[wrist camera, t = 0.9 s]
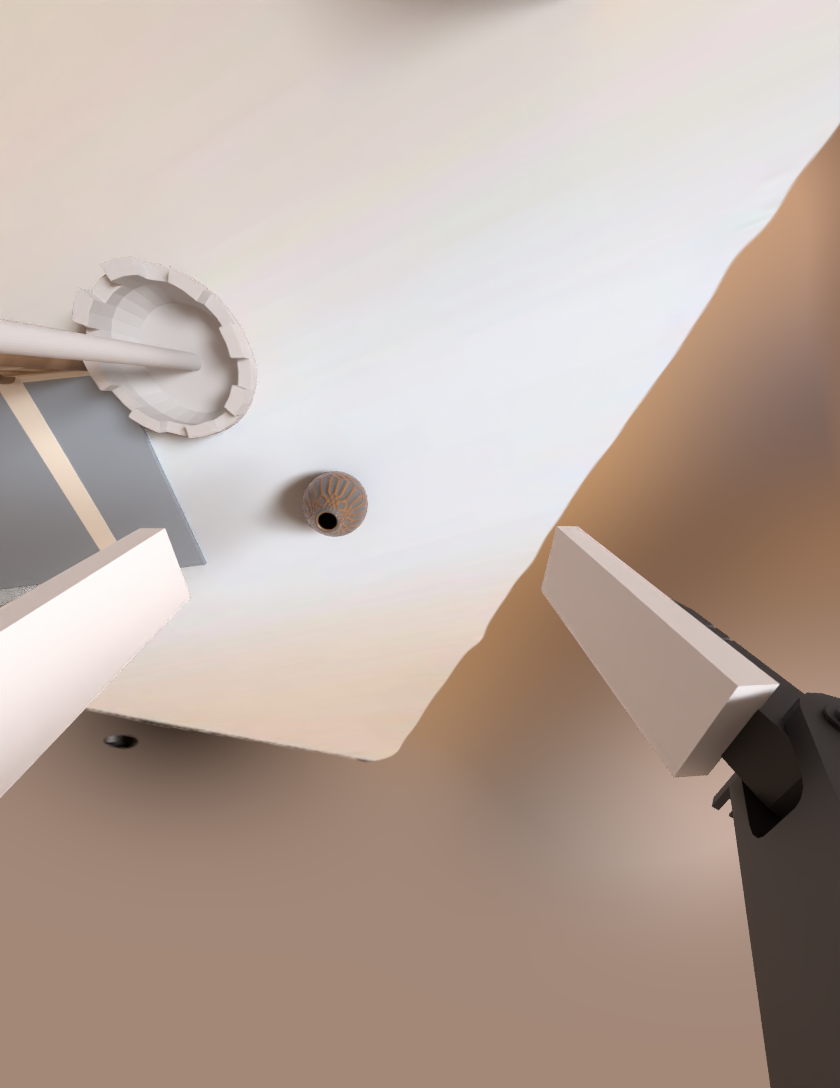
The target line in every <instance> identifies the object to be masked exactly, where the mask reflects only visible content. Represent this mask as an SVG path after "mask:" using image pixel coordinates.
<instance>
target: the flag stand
mask: <svg viewBox="0 0 840 1088" xmlns="http://www.w3.org/2000/svg"><path fill="white" fill-rule="evenodd" d="M99 265H100V266H101V267H102V269H103V270H104V272H105V273H106V274H105V275H104V276H103V277H102V278H100V279H99V281H98V282H97V284H96V285H95V287H94V288H93V290H92V291H88V290H85V289H81V288H78V291H77V294H76V297H75V300H74V303H73V319H72V321H74V322H77V323H79V324H82V325H84V326H85V327H86V334H83V333H77V332H71V331H66V330H60V329H54V328H49V327H43V326H37V325H32V324H26V323H20V322H14V321H9V320H3V319H0V353H3V354H14V355H26V356H37V357H48V358H59V359H70V360H82V361H83V362H84V364H85V366H86V368H87V370H88V372H89V374H90V376H91V377H92V379H93V380H94V381H95V383H96V384H97V386H98V387H99V389H100V390H101V391H112V392H113V393H114V394H115V395H116V396H117V397H118V398H119V399H120V400H121V402H122V403H123V404H124V405H125V406H127V407H128V408H129V409H130V410H131V411H132V412H131V413H130V415H129V418H131V419H133V420H134V421H136V422H137V423H139V424H141V425H142V426H144V427H146V428H149V429H151V430H153V431H155V432H158V433H162V432H170V433H174V434H178V435H182V436H189V438H197V437H204V436H208V435H212V434H216V433H219V432H221V431H224V430H227V429H229V428H230V427H232V426H233V425H235V424H236V423H238V422H239V420H240V419H241V418H242V417H243V416H244V415H245V414H246V412H247V410H248V409H249V407H250V405H251V403H252V400H253V396H254V393H255V389H256V383H257V369H256V362H255V358H254V355H253V351H252V349H251V346H250V343H249V341H248V339H247V337H246V335H245V333H244V331H243V328H242V327H241V325H240V324H239V322H238V321H237V319H236V318H235V316H234V315H233V313H232V312H231V310H230V309H229V308H228V307H227V306H226V305H225V304H224V303H223V302H222V301H221V299H220V298H219V297H218V296H216V295H215V294H214V293H213V292H211V291H210V290H209V289H208V288H207V287H205V286H204V285H203V284H201V283H199V282H197V281H196V280H194V279H192V278H190V277H189V276H187V275H185V274H183V273H181V272H180V271H178V270H176V269H174V268H172V267H170V266H169V267H166V266H163V265H161V264H154V263H146V262H142V261H140V260H138V259H136V258H134V257H122V258H114V259H111V260H109V261H106V262H104V263H101V264H99Z"/></svg>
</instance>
